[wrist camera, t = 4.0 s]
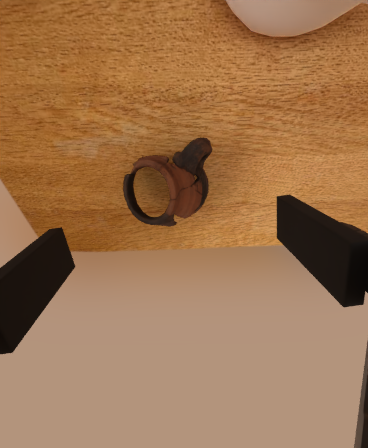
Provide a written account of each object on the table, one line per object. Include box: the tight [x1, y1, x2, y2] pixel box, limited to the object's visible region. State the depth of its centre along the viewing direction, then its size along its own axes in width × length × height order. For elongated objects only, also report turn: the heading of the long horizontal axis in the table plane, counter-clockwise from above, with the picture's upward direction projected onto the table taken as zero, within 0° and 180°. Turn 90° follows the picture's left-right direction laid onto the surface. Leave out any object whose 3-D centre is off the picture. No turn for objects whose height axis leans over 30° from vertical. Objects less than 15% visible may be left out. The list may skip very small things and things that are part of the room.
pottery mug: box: [123, 138, 212, 226], centre depth 30 cm, size 12×10×8 cm
